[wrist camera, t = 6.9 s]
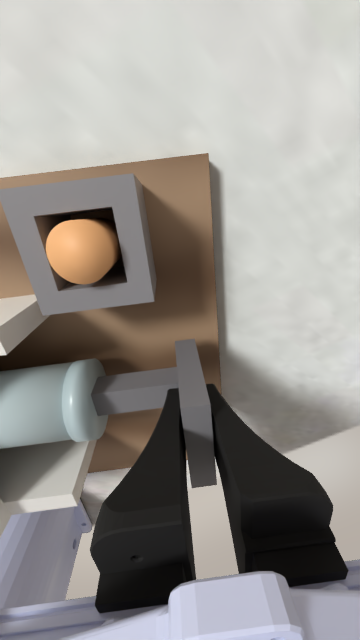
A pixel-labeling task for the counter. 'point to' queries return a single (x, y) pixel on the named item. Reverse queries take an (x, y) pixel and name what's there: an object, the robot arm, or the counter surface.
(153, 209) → the mounting board
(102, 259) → the orange rounded peg
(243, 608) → the robot arm
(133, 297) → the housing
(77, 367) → the grey and blue plunger
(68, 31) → the counter surface
